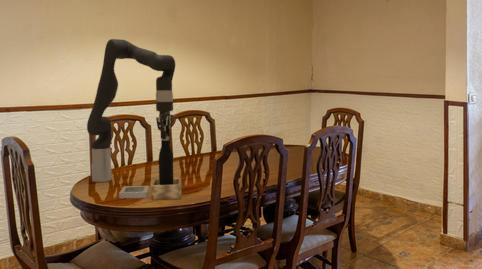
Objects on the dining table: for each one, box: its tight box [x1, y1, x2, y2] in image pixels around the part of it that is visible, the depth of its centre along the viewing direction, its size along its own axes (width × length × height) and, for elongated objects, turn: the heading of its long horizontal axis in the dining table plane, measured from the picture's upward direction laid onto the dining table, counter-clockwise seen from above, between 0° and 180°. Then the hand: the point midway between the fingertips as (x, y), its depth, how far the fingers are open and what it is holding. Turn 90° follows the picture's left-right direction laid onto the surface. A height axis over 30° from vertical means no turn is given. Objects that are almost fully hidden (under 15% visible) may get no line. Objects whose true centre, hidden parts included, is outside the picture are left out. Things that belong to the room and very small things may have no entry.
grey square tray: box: [118, 185, 150, 200], centre depth 218 cm, size 12×12×2 cm
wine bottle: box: [158, 123, 174, 185], centre depth 214 cm, size 6×6×30 cm
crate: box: [150, 177, 182, 201], centre depth 216 cm, size 13×13×6 cm
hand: (165, 138), depth 213 cm, fingers closed on wine bottle, 4 cm apart
